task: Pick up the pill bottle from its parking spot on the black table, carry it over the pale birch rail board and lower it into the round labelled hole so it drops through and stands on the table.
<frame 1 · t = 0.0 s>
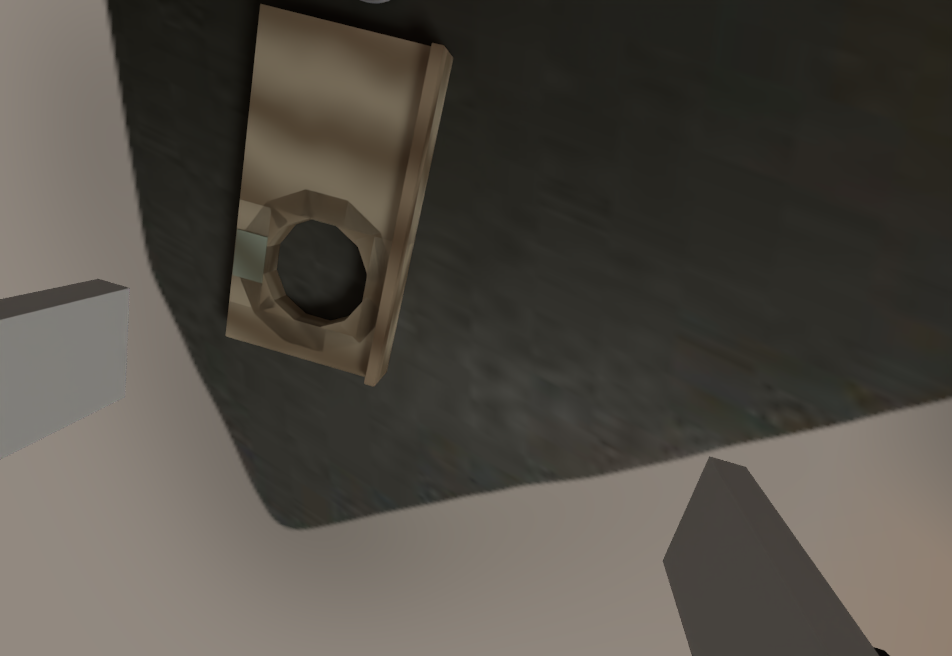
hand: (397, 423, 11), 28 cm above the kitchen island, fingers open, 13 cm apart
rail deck: (335, 207, 39), on the kitchen island
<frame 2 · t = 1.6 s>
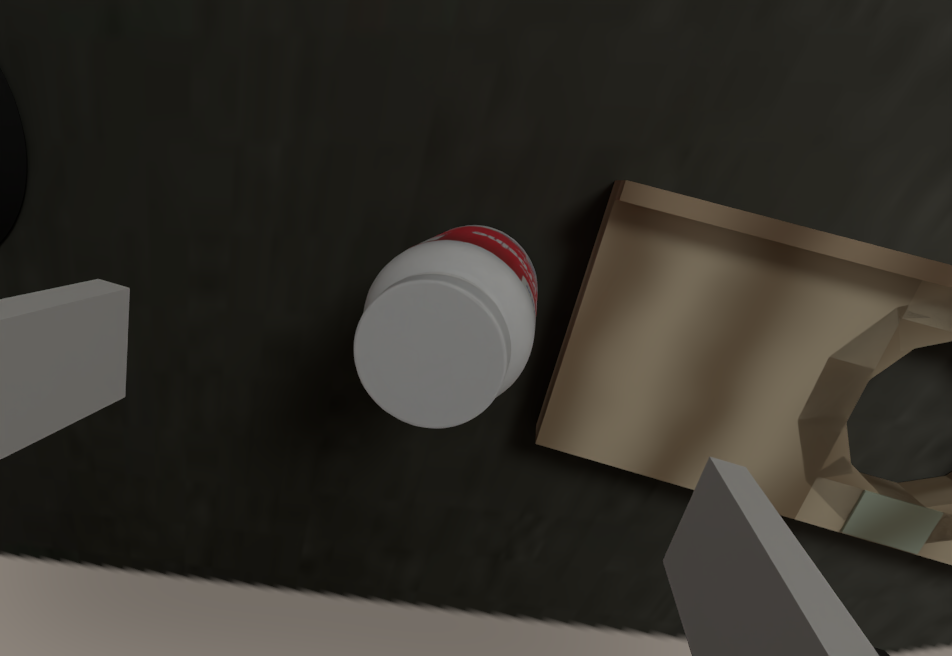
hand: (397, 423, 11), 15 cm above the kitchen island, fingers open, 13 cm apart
pill bottle: (476, 284, 26), on the kitchen island
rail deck: (812, 378, 24), on the kitchen island
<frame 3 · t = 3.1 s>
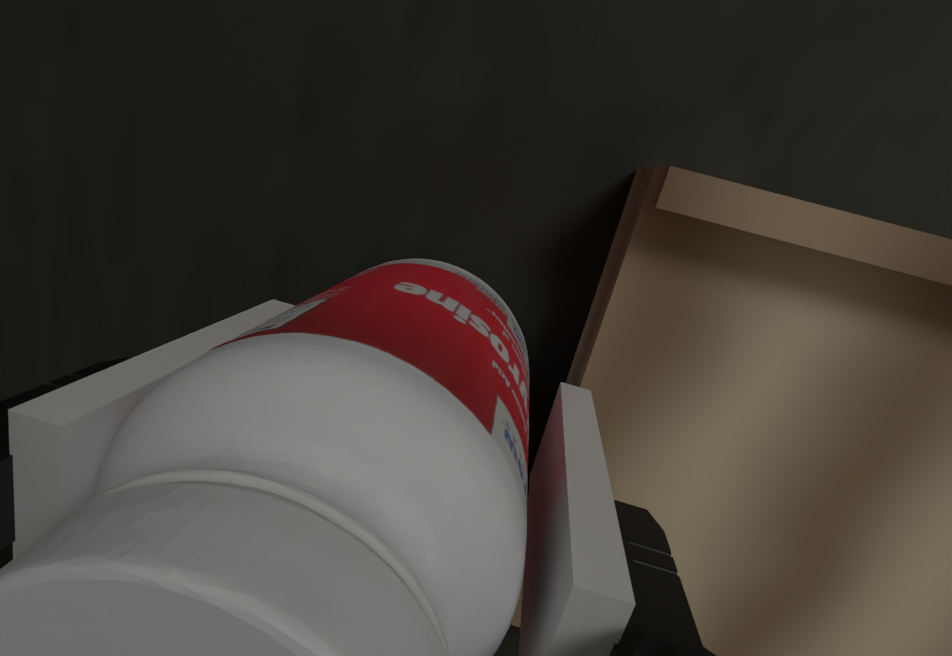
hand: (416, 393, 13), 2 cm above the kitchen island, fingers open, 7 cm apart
pill bottle: (424, 356, 15), on the kitchen island, touching gripper
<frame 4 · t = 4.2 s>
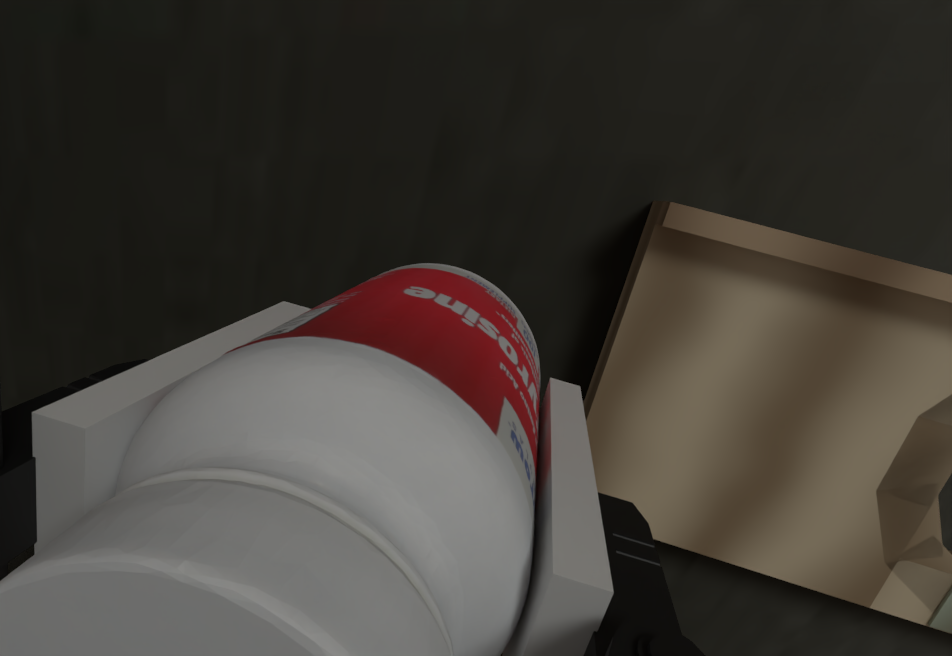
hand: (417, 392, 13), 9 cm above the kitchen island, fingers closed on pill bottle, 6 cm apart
pill bottle: (437, 360, 15), point 7 cm above the kitchen island, touching gripper
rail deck: (890, 437, 20), on the kitchen island
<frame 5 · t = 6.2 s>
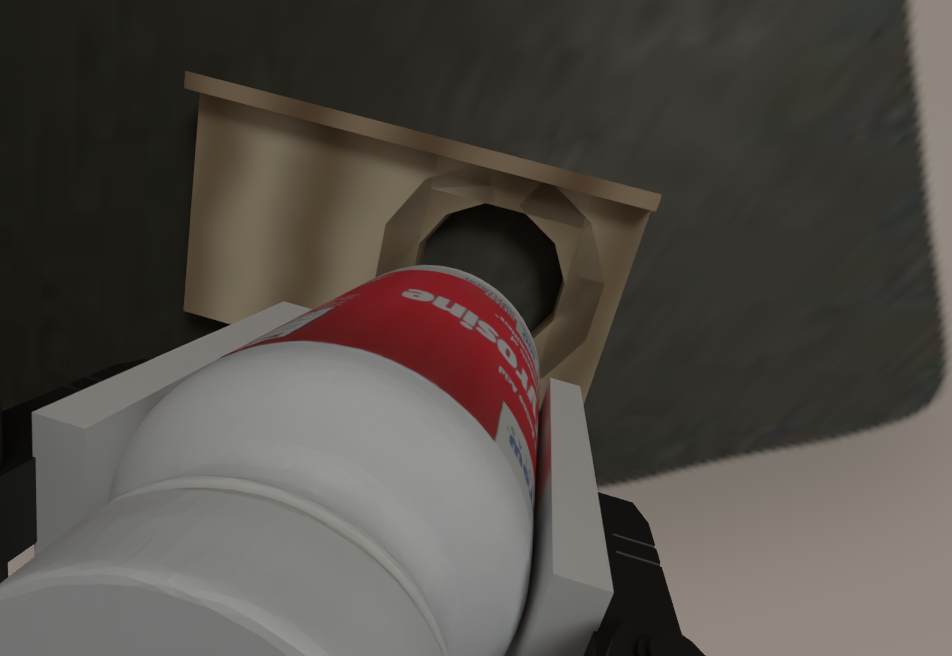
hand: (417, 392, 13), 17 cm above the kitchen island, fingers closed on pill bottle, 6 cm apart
pill bottle: (436, 362, 15), point 15 cm above the kitchen island, touching gripper
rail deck: (407, 253, 29), on the kitchen island
when the fingers open (3 cm above the kitchen island, at t = 8.5 s): pill bottle drops 1 cm, resting in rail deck.
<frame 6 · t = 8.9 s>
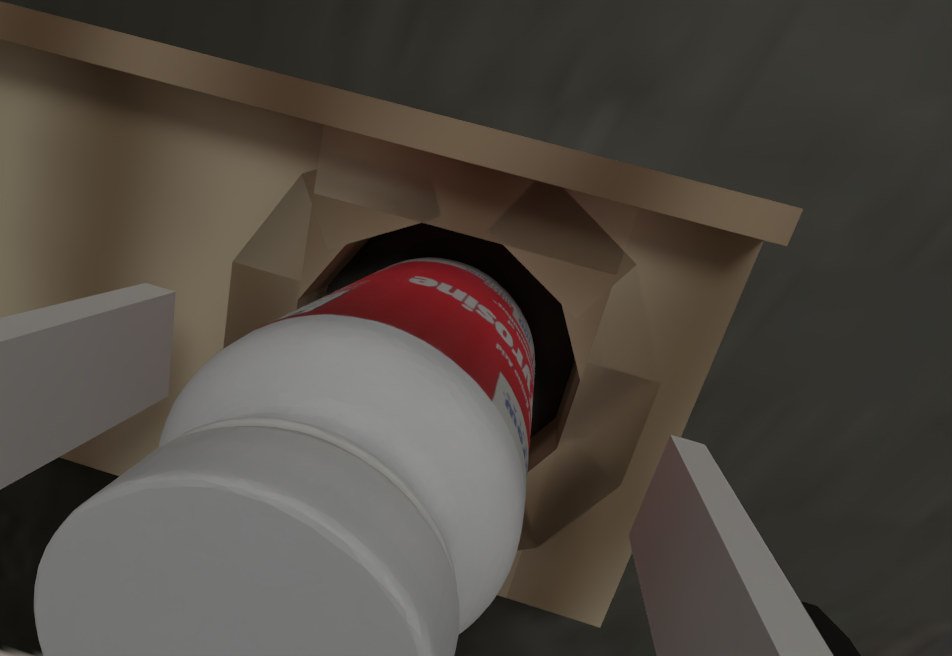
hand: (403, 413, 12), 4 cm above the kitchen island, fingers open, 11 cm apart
pill bottle: (438, 349, 16), resting in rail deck
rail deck: (293, 309, 16), on the kitchen island
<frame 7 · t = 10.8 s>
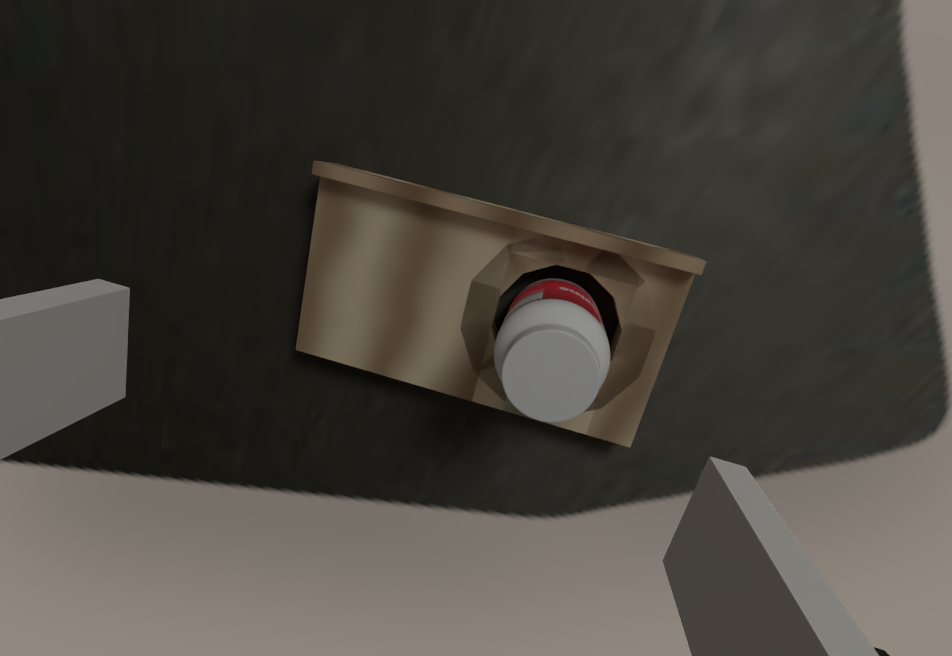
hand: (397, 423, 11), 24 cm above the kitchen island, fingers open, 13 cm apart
pill bottle: (552, 320, 34), resting in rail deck
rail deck: (484, 301, 35), on the kitchen island
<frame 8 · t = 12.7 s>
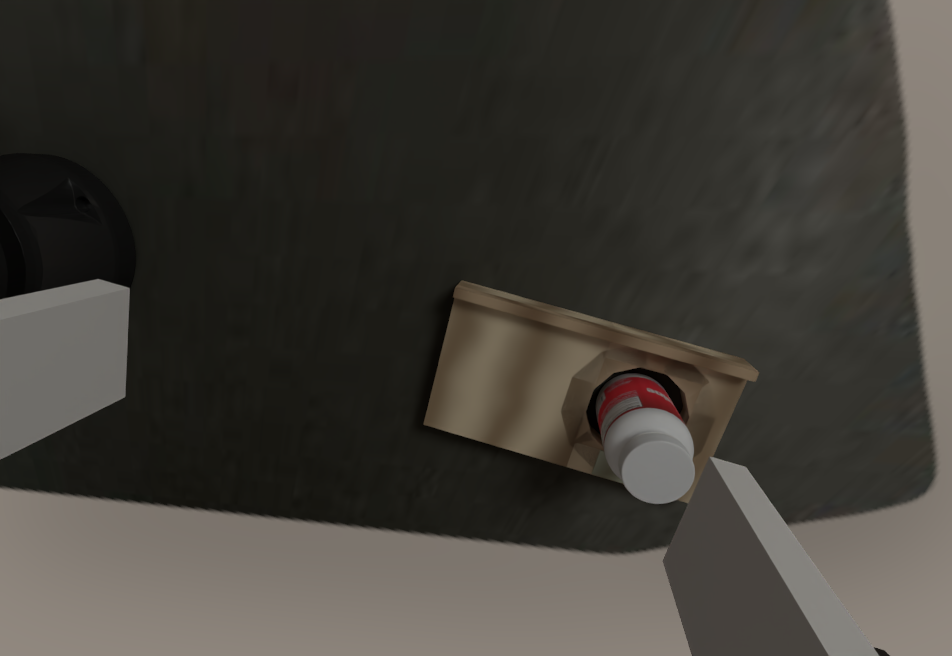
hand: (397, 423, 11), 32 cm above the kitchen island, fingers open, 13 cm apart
pill bottle: (630, 403, 44), resting in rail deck
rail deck: (576, 388, 44), on the kitchen island
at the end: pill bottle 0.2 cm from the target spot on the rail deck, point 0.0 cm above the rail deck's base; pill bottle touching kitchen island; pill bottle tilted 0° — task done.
